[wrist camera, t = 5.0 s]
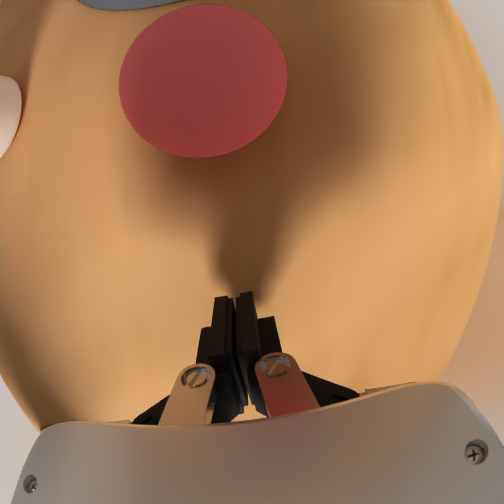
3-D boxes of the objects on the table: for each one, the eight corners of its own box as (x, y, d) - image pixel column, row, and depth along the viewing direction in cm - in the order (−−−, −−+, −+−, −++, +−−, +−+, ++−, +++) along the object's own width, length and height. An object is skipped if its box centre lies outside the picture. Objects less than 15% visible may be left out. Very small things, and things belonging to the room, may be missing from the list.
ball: (213, 28, 9) (228, 133, 12) (94, 43, 6) (120, 171, 9) (313, -2, 5) (326, 146, 9) (147, -27, 3) (185, 200, 6)
